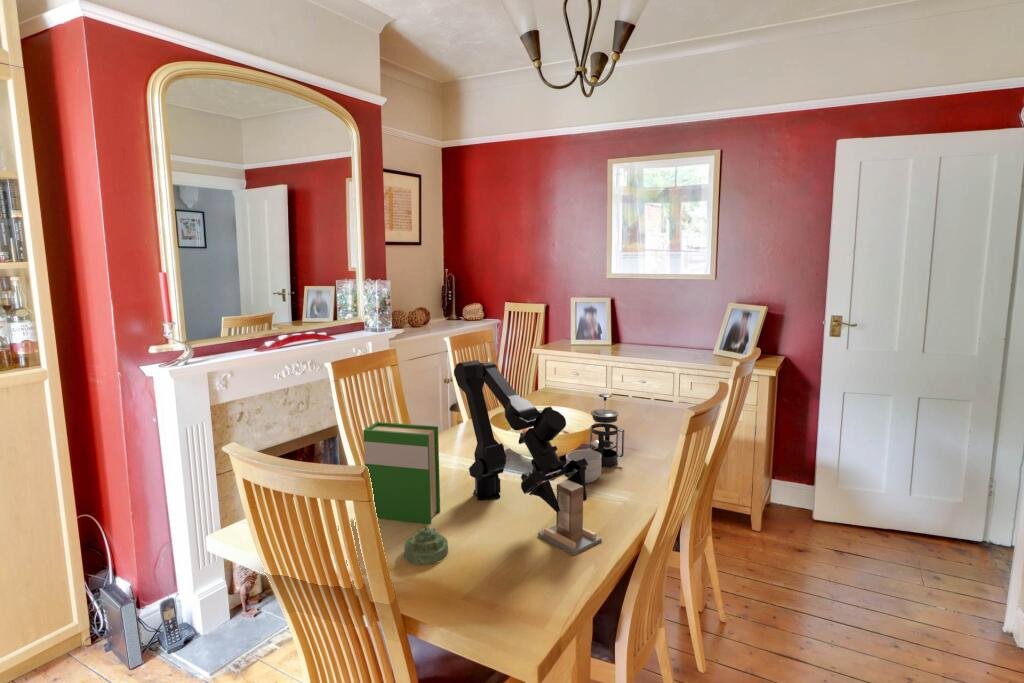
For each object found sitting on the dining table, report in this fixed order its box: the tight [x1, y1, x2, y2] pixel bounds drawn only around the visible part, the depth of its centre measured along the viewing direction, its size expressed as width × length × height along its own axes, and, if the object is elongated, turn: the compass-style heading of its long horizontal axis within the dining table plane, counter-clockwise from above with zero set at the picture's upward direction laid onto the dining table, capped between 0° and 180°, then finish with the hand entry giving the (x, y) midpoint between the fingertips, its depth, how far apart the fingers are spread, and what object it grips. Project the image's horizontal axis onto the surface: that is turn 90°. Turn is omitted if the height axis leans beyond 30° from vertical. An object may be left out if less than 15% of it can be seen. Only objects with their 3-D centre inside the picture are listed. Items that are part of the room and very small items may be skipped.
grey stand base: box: [537, 524, 603, 556], centre depth 143 cm, size 12×10×2 cm
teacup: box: [565, 447, 603, 484], centre depth 179 cm, size 14×11×8 cm
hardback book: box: [362, 421, 441, 525], centre depth 154 cm, size 18×7×24 cm, turn 76°
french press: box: [589, 393, 625, 468], centre depth 190 cm, size 12×9×23 cm
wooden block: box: [555, 479, 584, 541], centre depth 142 cm, size 5×4×13 cm
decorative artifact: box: [404, 525, 449, 566], centre depth 136 cm, size 10×7×10 cm
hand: (572, 505), depth 141 cm, fingers open, 9 cm apart
